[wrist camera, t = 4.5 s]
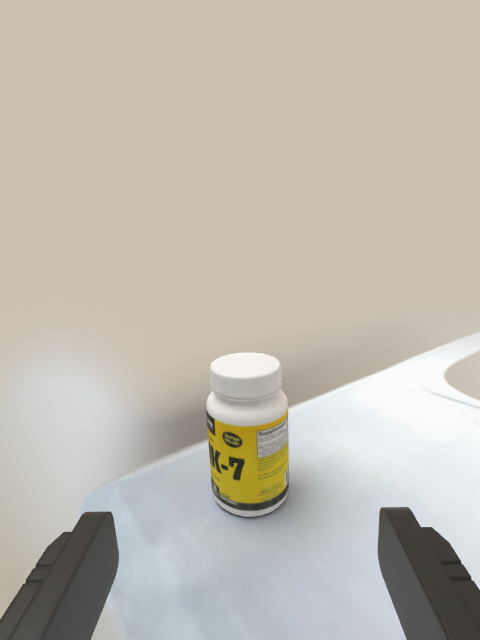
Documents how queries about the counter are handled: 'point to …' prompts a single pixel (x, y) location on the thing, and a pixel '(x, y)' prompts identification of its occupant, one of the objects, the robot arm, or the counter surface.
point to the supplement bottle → (248, 434)
